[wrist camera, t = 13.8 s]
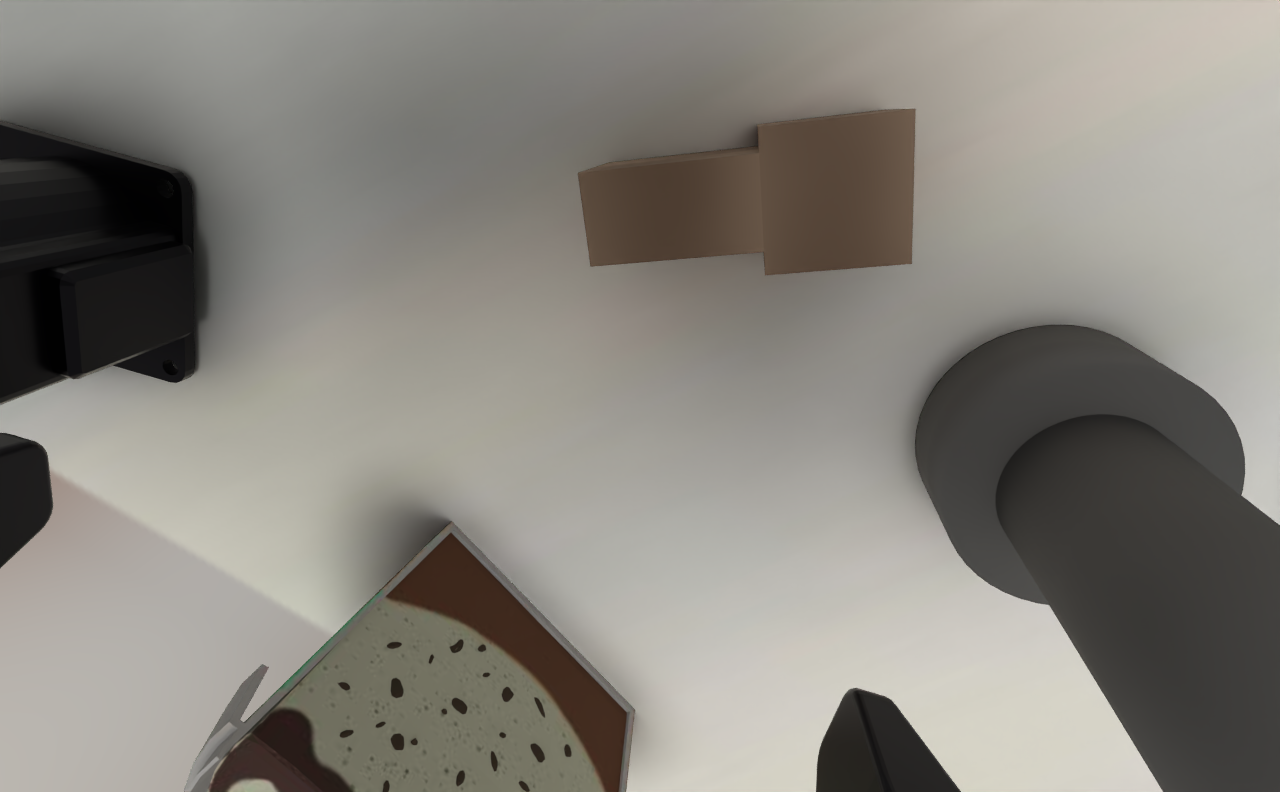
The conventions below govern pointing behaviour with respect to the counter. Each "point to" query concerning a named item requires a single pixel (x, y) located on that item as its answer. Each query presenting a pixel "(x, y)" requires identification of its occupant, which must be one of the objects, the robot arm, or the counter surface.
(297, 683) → the food container
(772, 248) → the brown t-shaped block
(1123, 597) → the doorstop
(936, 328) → the counter surface
